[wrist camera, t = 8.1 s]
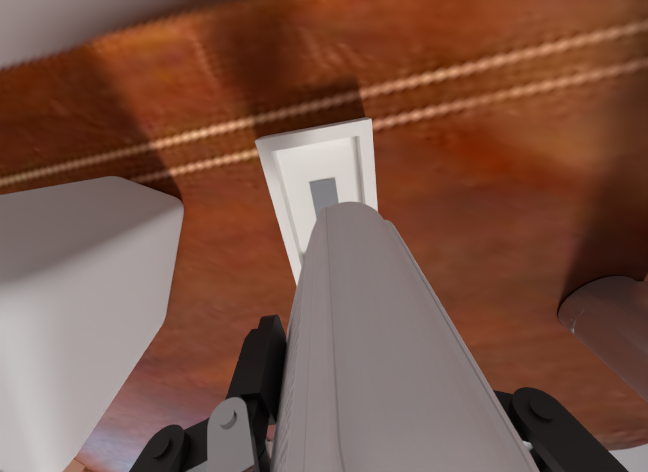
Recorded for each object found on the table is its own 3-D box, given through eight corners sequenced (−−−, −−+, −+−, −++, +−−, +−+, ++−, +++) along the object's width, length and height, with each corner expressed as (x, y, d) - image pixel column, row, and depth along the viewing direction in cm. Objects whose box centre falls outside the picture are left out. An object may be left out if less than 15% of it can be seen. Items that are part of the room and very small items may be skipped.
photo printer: (344, 341, 17) (389, 762, 6) (284, 332, 16) (215, 777, 6) (400, 208, 12) (1053, 1057, 1) (317, 190, 12) (291, 1344, 1)
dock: (365, 117, 20) (371, 118, 18) (376, 262, 27) (381, 276, 25) (261, 136, 21) (254, 140, 19) (299, 273, 28) (297, 288, 26)
